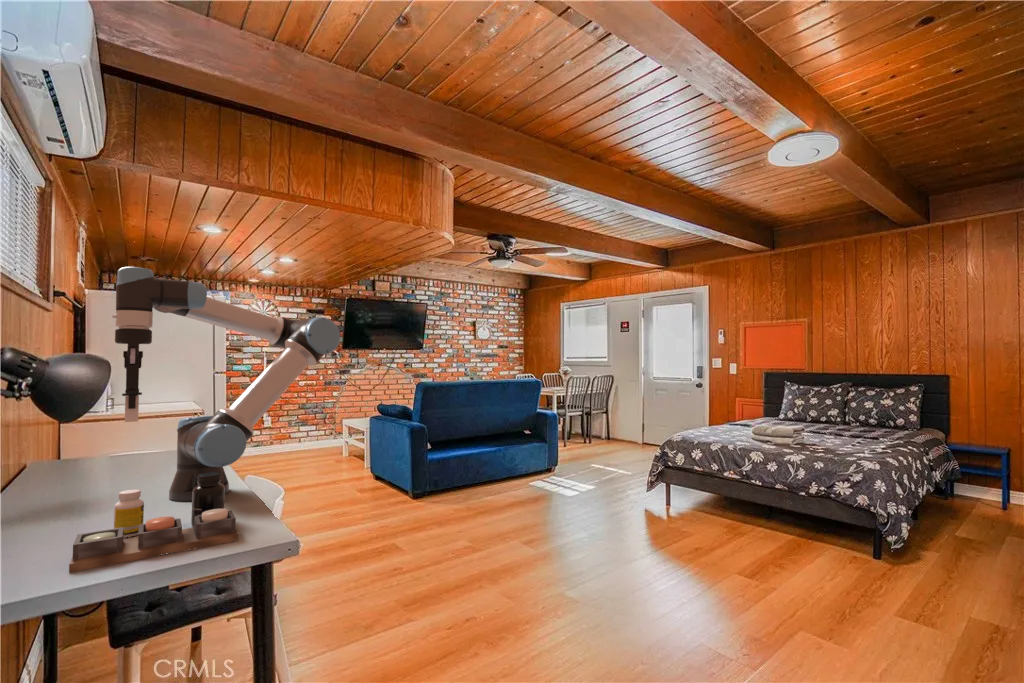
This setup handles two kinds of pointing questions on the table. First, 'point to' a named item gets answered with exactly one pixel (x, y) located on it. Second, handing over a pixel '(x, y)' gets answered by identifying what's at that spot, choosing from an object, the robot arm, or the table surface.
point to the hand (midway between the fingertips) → (131, 421)
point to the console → (150, 542)
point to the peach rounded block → (214, 515)
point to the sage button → (99, 536)
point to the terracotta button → (160, 523)
